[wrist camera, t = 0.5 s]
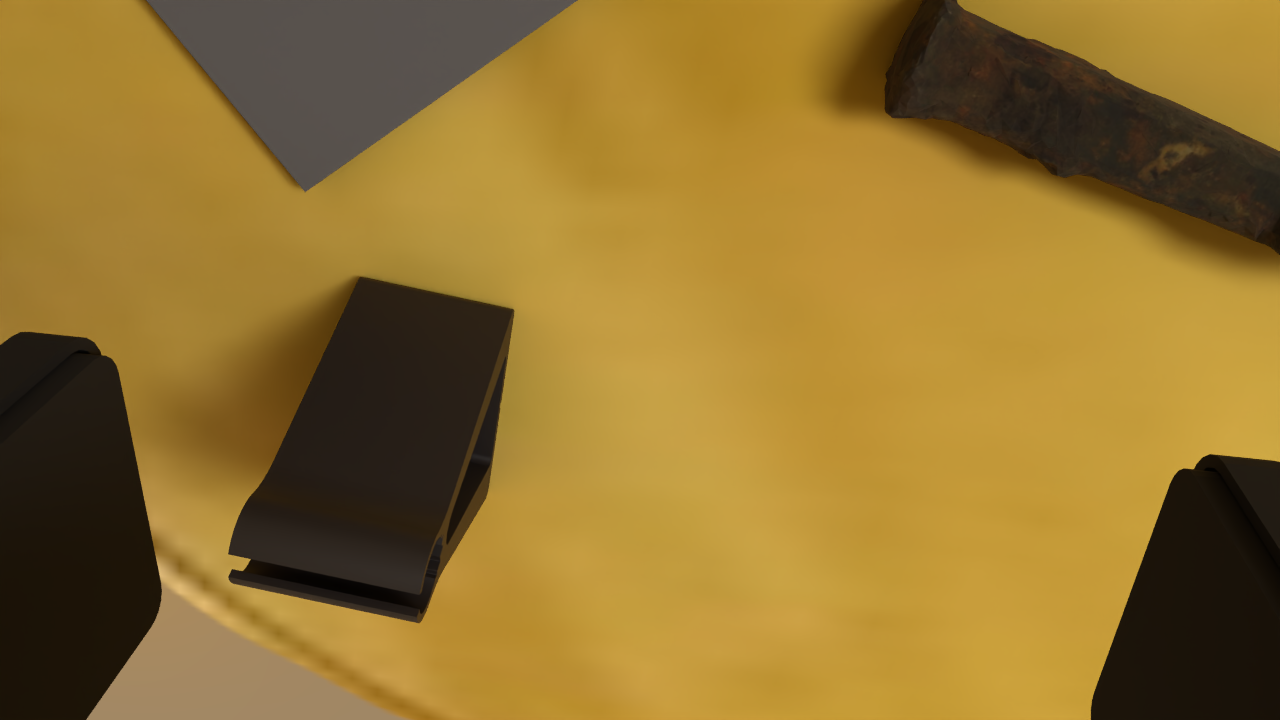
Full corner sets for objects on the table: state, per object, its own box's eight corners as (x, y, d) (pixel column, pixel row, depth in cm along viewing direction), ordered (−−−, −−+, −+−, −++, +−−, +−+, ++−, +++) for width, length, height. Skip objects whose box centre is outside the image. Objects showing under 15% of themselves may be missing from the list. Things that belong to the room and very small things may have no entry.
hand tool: (867, 84, 37) (879, 126, 33) (928, -31, 35) (949, -1, 31) (1344, 304, 39) (1411, 369, 35) (1427, 208, 37) (1508, 264, 33)
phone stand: (362, 272, 42) (228, 445, 31) (516, 306, 42) (433, 490, 31) (348, 462, 46) (226, 669, 36) (488, 493, 46) (406, 708, 36)
